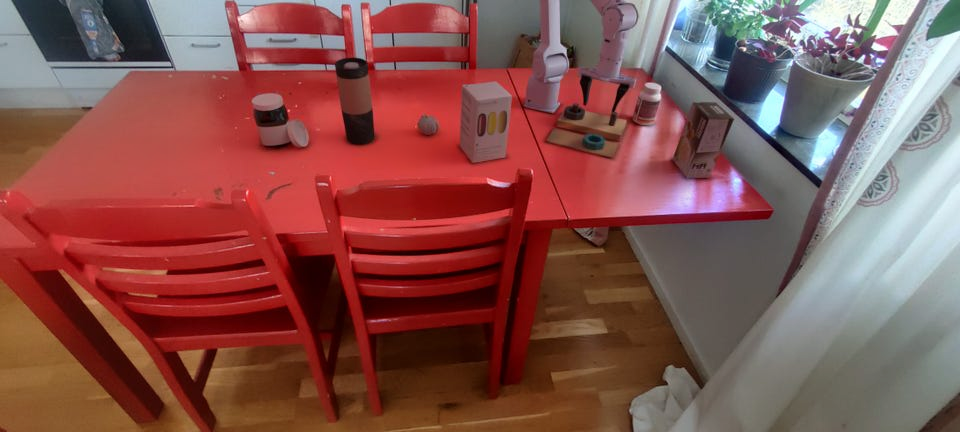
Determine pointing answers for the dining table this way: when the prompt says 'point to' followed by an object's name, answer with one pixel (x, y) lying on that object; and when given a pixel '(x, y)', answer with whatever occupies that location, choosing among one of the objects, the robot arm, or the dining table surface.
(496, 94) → the supplement box
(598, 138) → the teal ring
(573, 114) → the charcoal ring
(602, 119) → the peg board
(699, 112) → the coffee box
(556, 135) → the cork mat
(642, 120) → the pill bottle
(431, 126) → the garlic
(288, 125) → the spread jar
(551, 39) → the robot arm
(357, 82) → the travel mug
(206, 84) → the dining table surface
